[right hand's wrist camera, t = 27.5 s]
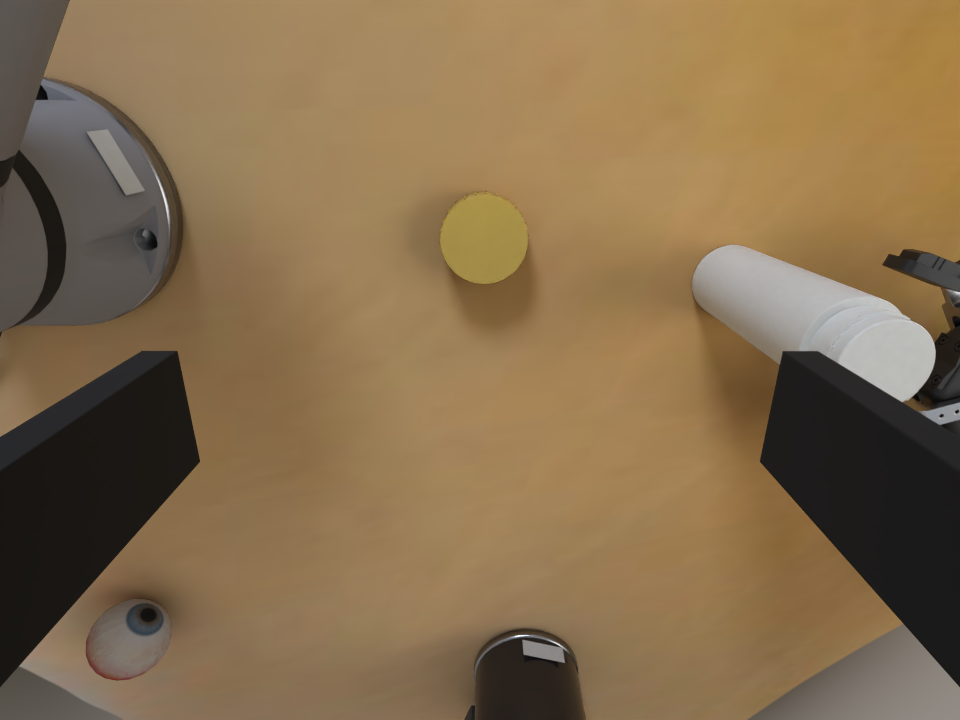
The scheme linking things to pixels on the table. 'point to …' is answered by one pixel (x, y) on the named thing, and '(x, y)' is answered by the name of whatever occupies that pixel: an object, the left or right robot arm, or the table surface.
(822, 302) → the jar
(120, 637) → the eyeball
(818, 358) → the right robot arm
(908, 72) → the table surface
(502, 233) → the lid
